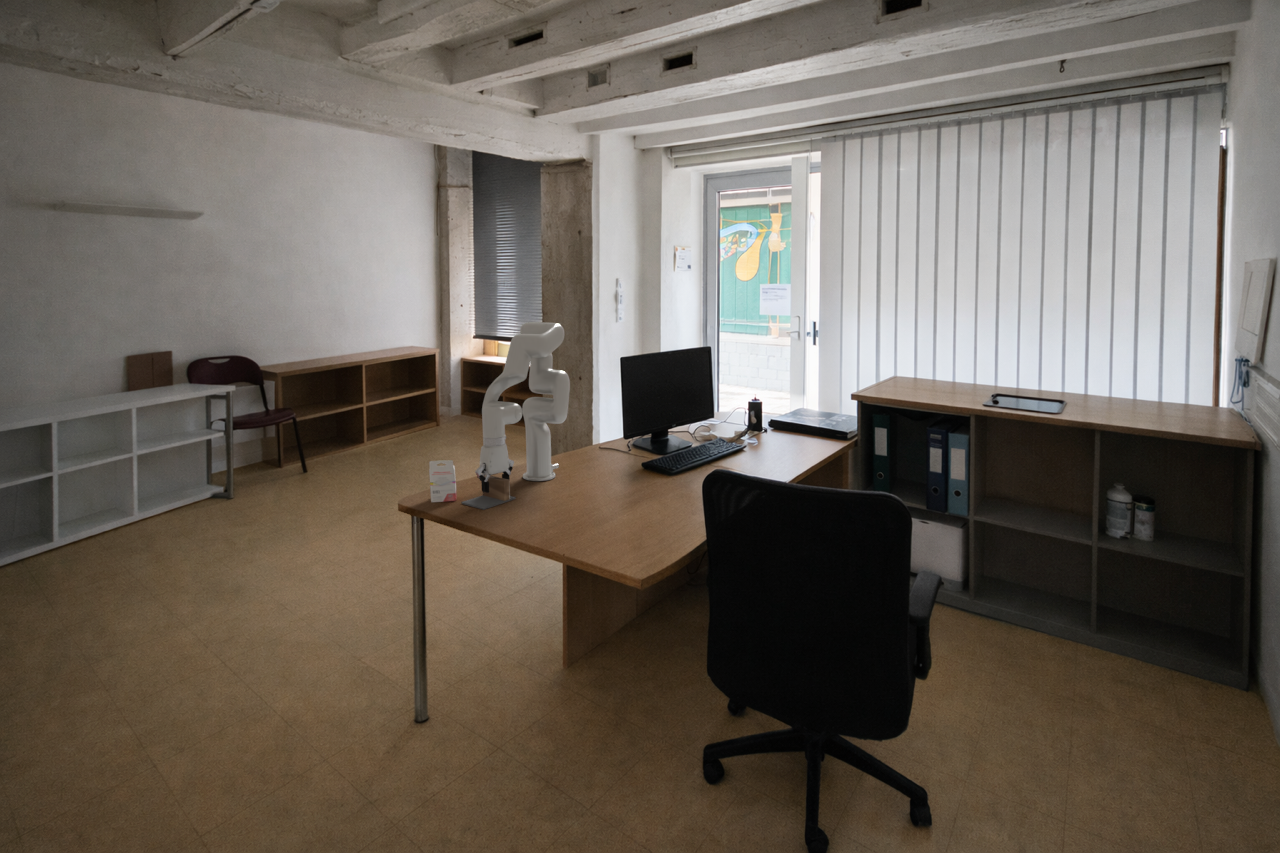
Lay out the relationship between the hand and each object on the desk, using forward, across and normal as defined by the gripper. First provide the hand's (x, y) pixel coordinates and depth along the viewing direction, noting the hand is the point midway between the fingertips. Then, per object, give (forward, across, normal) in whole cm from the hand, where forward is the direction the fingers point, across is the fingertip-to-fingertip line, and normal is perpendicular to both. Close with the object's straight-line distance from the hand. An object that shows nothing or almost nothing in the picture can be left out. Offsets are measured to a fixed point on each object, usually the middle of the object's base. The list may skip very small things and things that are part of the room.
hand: (495, 488), depth 247 cm
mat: (+4, +4, 0) cm, 5 cm away
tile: (+3, 0, 0) cm, 3 cm away
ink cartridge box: (+4, +12, -14) cm, 19 cm away
